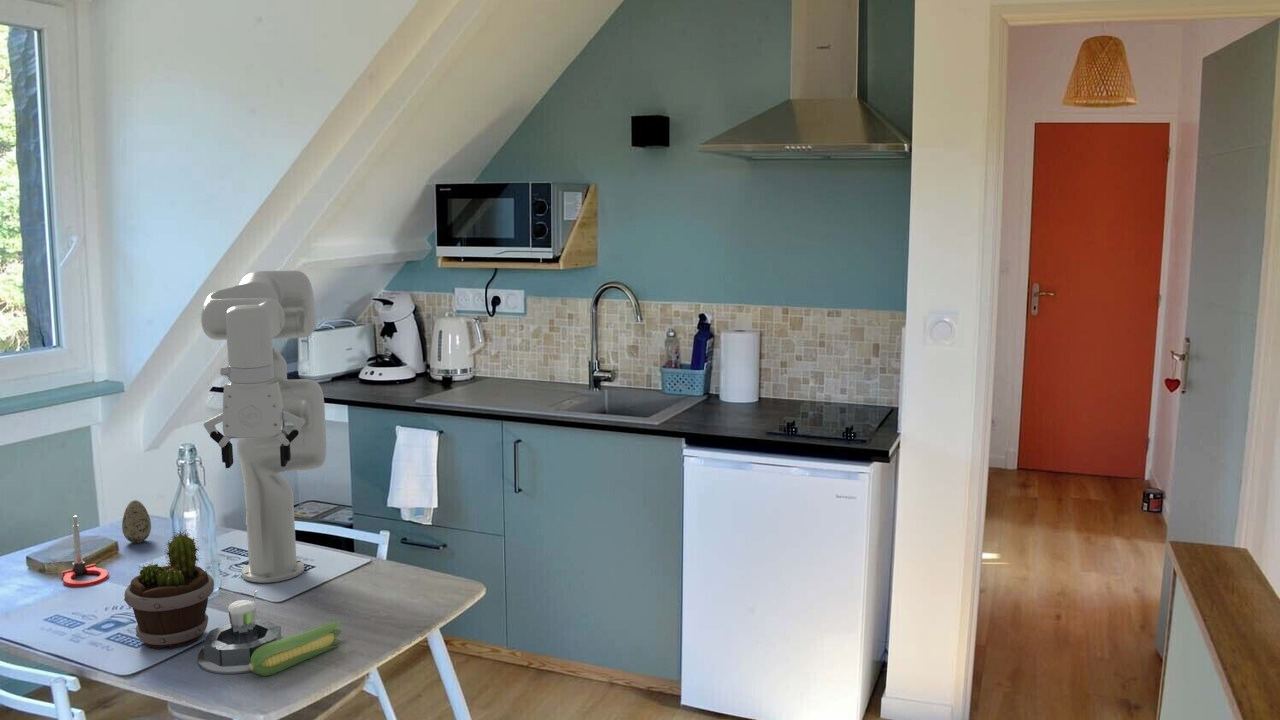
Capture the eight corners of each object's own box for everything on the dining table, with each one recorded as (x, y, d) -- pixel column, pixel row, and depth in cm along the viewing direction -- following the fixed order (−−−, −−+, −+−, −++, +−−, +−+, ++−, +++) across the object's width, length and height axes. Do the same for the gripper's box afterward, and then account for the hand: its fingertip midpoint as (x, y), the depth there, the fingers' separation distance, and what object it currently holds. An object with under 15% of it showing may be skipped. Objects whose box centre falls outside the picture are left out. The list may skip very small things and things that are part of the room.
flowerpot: (166, 663, 182) (158, 552, 178) (110, 644, 189) (101, 537, 186) (235, 632, 194) (229, 528, 191) (180, 615, 202) (173, 515, 198)
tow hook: (114, 581, 219) (99, 568, 226) (110, 523, 217) (95, 510, 223) (71, 592, 214) (56, 578, 220) (66, 532, 211) (51, 519, 217)
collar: (209, 639, 191) (208, 619, 190) (295, 634, 193) (294, 614, 193) (187, 677, 177) (186, 655, 176) (281, 671, 179) (279, 650, 178)
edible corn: (239, 651, 177) (254, 651, 174) (337, 616, 193) (352, 615, 190) (245, 682, 177) (260, 682, 174) (343, 644, 193) (358, 644, 190)
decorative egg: (157, 538, 244) (154, 497, 242) (142, 547, 238) (138, 505, 237) (133, 537, 245) (130, 496, 243) (117, 546, 239) (114, 503, 237)
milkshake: (267, 647, 186) (264, 594, 184) (241, 659, 182) (238, 604, 180) (251, 641, 188) (248, 588, 187) (225, 652, 184) (221, 598, 182)
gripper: (195, 379, 184) (202, 473, 188) (298, 378, 187) (302, 470, 190) (206, 370, 191) (212, 460, 195) (304, 368, 194) (309, 458, 197)
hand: (257, 465), depth 193 cm, fingers open, 9 cm apart
